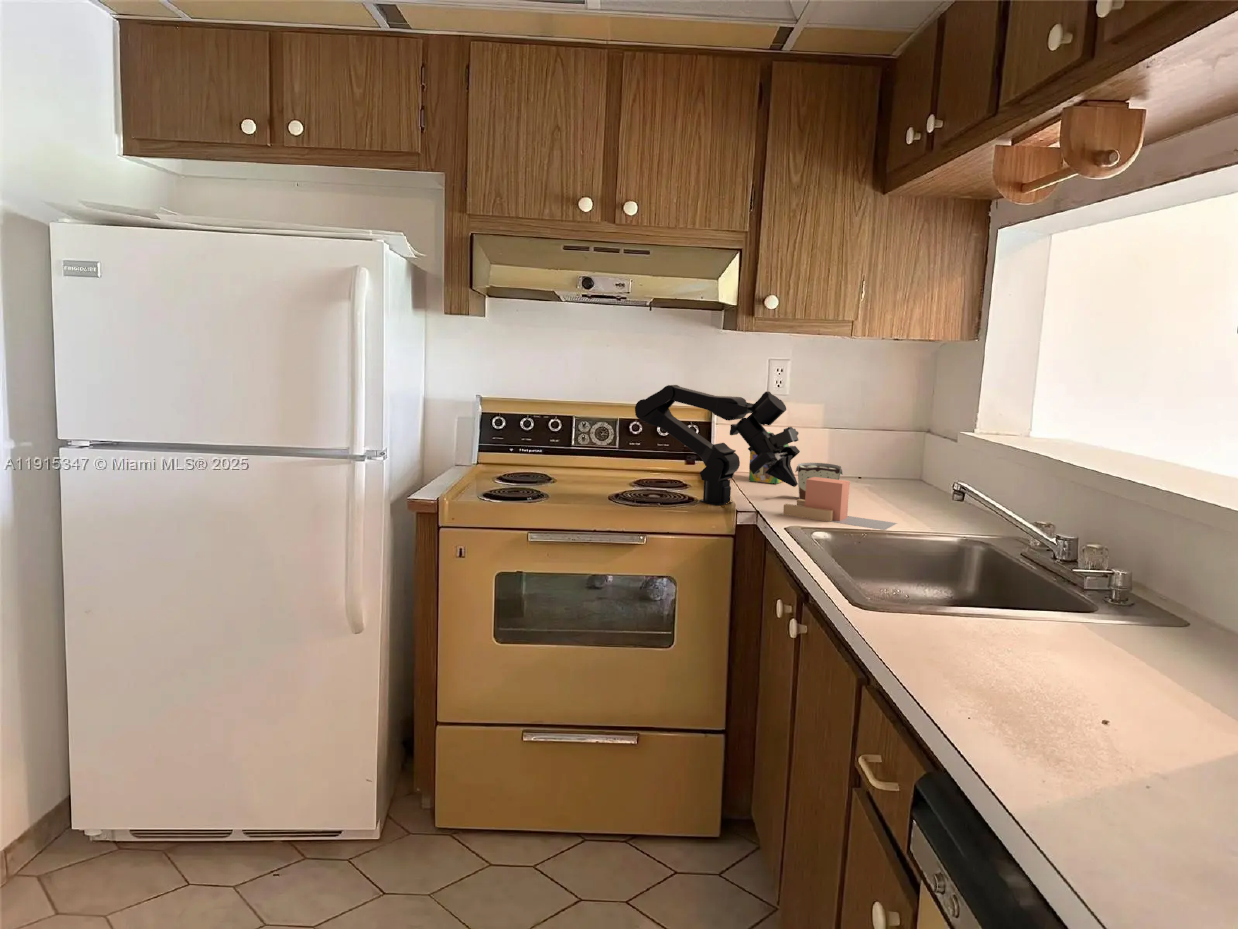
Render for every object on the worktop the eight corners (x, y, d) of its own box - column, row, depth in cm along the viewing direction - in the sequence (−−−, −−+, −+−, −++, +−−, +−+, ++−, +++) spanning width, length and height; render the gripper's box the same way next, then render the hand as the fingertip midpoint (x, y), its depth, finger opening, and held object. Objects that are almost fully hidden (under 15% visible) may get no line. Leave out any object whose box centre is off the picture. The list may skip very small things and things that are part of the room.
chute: (779, 516, 220) (780, 504, 220) (794, 510, 228) (795, 498, 228) (884, 532, 206) (885, 519, 206) (897, 525, 214) (898, 512, 213)
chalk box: (776, 485, 266) (779, 435, 264) (747, 481, 270) (750, 432, 268) (787, 481, 274) (790, 432, 271) (759, 477, 278) (762, 429, 276)
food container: (837, 499, 245) (839, 463, 244) (840, 504, 239) (843, 466, 237) (791, 497, 246) (793, 461, 245) (793, 501, 240) (795, 464, 239)
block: (804, 515, 219) (806, 479, 218) (811, 512, 223) (814, 476, 222) (839, 521, 214) (842, 483, 213) (847, 517, 218) (849, 481, 217)
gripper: (763, 419, 215) (804, 469, 211) (794, 414, 230) (833, 461, 226) (732, 448, 220) (771, 498, 216) (764, 442, 236) (802, 488, 231)
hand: (795, 485), depth 222 cm, fingers closed
